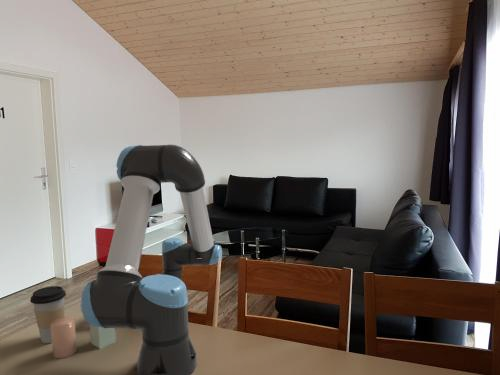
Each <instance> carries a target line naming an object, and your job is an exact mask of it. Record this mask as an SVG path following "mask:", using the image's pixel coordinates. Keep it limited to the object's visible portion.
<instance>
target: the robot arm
mask: <svg viewBox="0 0 500 375" xmlns="http://www.w3.org/2000/svg"><path fill="white" fill-rule="evenodd" d="M116 168H117V169H116V175H117V178H118V179H119V181H120V184H121V186H122V187H123V189H124V190H123V193H122V198H121V201H120V205H119V209H118V214H117V218H116V222H115V227H114V231H113V234H112V239H111V243H110V246H109V251H108V255H107V259H106V263H105V266H104V267H102V268H101V269H99V270H98V271H97V274H96V279H93V280H90V281H88V282H87V283H86V285H85V287H84V288H83V290H82V293H81V300H80V302H79V307H80V308H79V310H80V312H81V313H82V315H83V318H84V320H85V322H86V323H87V324H88V325H89V326H90V325H91V326H95V327H102V328H115V329H124V330H125V329H127V330H141V335H142V337H141V338H142V344H141V346H140V350H139V354H138V358H137V361H136V373H137V375H191V374H192V373H193V372H194V371H195V369H196V367H197V360H198V359H197V352H196V350H195V346H194V344H193V342H192V340H191V337H190V334H189V333H190V332H189V331H190V330H189V309H188V308H189V306H188V305H189V304H188V303H189V297H188V292H187V287H186V285H185V283H184V282H183V281H182V280H181V273H182V265H183V266H201V265H213V264H216V263H217V262H218V261H220V260H221V261H223V260H222V259H223V249H222V246H221V245H219V244H216V243H215V241H214V236H213V232H212V227H211V223H210V216H209V212H208V207H207V202H206V196H205V192H204V187H205V184H206V179H205V174H204V172H203V169H202V166H201V165H200V163H199V162H198V161H197V159H196V158H195V157H194V156H193V155H192V154H191V153H190V152H189V151H188V150H186V149H185V148H183V147H182V146H179V145H176V144H156V145H154V144H153V145H152V144H151V145H142V144H137V145H129V146H127V147H126V146H125V147H124V148H123V150H121V151H120V153H119V155H118V158H117V160H116ZM162 183H173V184H174V188H175V190H176V191H177V192H178V193H179V195H180V199H181V204H182V207H183V211H184V215H185V220H186V223H187V227H188V231H189V232H188V233H189V235H190V240H191V243H192V244H190V243H188V244H185V243H184V242H183V239H182V238H179V237H169V238H166V239H164V240H163V241H162V243H161V245H162V247H161V258H162V268H163V269H162V272H161V273H160V272H159V273H156V274H152V275H151V274H150V275H148V276H145V277H143V276H142V275H141V273H140V272H139V267H140V263H141V257H142V254H143V253H142V252H143V248H144V243H145V238H146V234H147V227H148V223H149V219H150V212H151V209H152V204H153V198H154V195H155V194H157V193H158V192H159V191H160V190H161V185H162ZM197 258H202V259H197ZM216 258H219V260H218V259H216Z"/></svg>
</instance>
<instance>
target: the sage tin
mask: <svg viewBox="0 0 500 375" xmlns="http://www.w3.org/2000/svg"><path fill="white" fill-rule="evenodd" d="M89 332H90V344H92V345H93V346H95V347H96V348H98V349H99V350H101V349H103V348H105V347H107V346H110V345H112V344H114V343H116V342H117V337H116V328H102V327H95V326H91V325H89Z"/></svg>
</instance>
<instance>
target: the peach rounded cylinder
mask: <svg viewBox="0 0 500 375" xmlns="http://www.w3.org/2000/svg"><path fill="white" fill-rule="evenodd" d="M50 325H51V336H52V343H51V345H52V356H53V358H55V359H65V358H69V357H71V356H73V355H75V354H76V353H77V351H78V346H77V335H76V322H75V318H74V317H72V316H67V317H66V316H64V318H60V319H57V320H55V321H53V322H52V323H51V324H50ZM75 352H76V353H75Z"/></svg>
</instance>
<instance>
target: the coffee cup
mask: <svg viewBox="0 0 500 375" xmlns="http://www.w3.org/2000/svg"><path fill="white" fill-rule="evenodd" d="M66 296H67V293H66V290H64V288H63V287H62V286H59V285H53V286H52V285H51V286H44V287H40V288H39V289H36V290H35V291H33V292H32V295H31V297H30V300H29V301H30V303H32V304H33V307H34V309H33V310H34V315H35V320H36V324H37V328H38V331H39V336H40V341H41V343H43V344H52V336H51V325H50V324H51V323H52V322H53V321H55V320H57V319H60V318H64V317H65V305H66V304H65V297H66Z"/></svg>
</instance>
